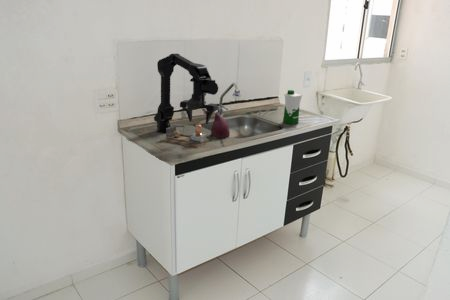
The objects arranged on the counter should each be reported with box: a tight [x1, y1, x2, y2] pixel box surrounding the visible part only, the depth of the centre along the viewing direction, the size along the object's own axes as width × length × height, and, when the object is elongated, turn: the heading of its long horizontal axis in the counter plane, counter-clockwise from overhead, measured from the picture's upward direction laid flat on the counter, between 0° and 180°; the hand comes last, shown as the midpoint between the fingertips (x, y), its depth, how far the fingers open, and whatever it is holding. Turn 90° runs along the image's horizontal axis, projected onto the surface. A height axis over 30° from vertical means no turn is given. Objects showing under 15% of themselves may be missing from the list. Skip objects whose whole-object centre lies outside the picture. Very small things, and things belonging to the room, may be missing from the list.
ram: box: [188, 124, 207, 143], centre depth 184 cm, size 7×6×8 cm
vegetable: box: [210, 111, 231, 139], centre depth 197 cm, size 10×10×15 cm
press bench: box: [163, 125, 210, 149], centre depth 188 cm, size 20×12×6 cm, turn 66°
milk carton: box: [282, 89, 303, 126], centre depth 228 cm, size 9×9×20 cm
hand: (198, 122), depth 182 cm, fingers open, 9 cm apart
